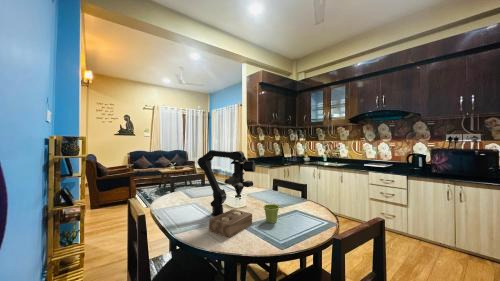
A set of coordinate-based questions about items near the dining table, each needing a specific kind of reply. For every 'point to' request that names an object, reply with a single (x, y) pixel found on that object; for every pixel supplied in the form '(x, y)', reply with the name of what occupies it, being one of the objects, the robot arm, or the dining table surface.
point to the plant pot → (271, 212)
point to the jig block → (230, 223)
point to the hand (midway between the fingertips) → (238, 196)
